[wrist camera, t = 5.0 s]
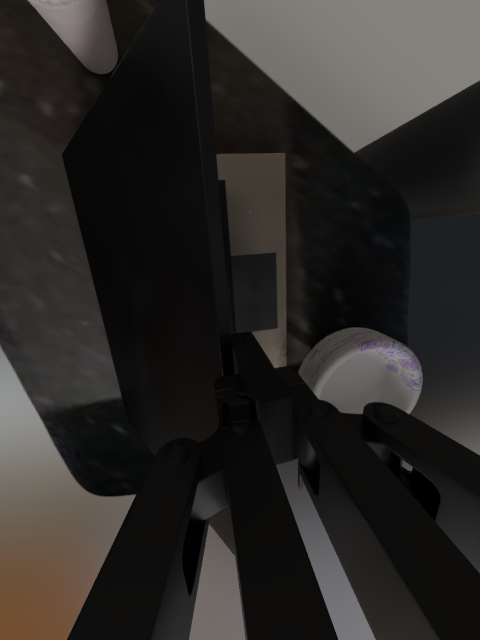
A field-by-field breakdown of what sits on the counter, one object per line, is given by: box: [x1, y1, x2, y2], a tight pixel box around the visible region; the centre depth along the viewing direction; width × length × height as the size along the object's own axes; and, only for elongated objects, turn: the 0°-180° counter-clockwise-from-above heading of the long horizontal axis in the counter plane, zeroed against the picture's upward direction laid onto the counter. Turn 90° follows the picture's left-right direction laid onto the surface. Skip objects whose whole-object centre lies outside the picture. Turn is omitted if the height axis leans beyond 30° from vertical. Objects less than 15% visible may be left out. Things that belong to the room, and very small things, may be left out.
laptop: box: [216, 153, 287, 368], centre depth 30 cm, size 21×30×2 cm
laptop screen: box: [62, 0, 235, 555], centre depth 20 cm, size 21×30×1 cm
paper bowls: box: [298, 327, 423, 414], centre depth 34 cm, size 15×15×8 cm
